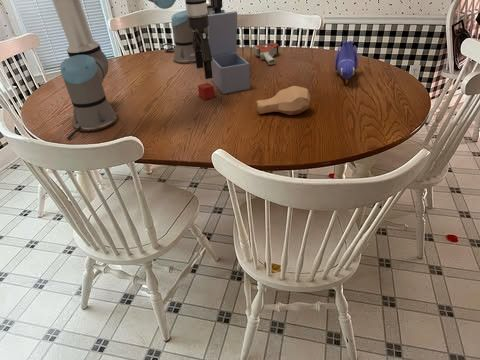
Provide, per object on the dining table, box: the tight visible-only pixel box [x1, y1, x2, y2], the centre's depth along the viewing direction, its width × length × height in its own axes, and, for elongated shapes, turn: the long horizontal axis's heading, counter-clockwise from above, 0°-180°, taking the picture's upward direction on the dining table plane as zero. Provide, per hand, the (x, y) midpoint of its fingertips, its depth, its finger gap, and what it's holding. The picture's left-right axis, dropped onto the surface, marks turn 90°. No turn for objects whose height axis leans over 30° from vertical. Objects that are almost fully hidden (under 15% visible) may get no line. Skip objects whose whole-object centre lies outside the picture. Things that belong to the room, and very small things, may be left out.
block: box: [197, 82, 216, 101], centre depth 146 cm, size 5×5×5 cm
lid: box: [208, 9, 238, 57], centre depth 152 cm, size 17×12×9 cm
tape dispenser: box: [252, 42, 280, 66], centre depth 182 cm, size 18×5×20 cm
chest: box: [211, 52, 251, 95], centre depth 154 cm, size 17×12×11 cm
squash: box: [255, 85, 312, 116], centre depth 130 cm, size 11×20×9 cm, turn 92°
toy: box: [334, 40, 359, 85], centre depth 152 cm, size 10×17×25 cm
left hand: (204, 72), depth 142 cm, fingers open, 13 cm apart
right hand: (218, 24), depth 153 cm, fingers closed on lid, 2 cm apart
